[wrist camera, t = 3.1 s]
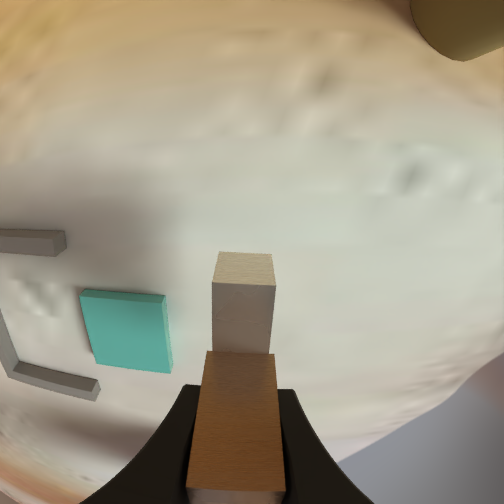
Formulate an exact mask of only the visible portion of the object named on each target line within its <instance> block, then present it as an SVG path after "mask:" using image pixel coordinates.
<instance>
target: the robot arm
mask: <svg viewBox="0 0 504 504" xmlns="http://www.w3.org/2000/svg"><path fill="white" fill-rule="evenodd" d="M200 390H201V386H200V385H189V384H186V385H184V386H183V387H182V389H181V392H180V394H179V395H178V397H177V399H176V401H175V403H174V404H173V406H172V408H171V409H170V411H169V413H168V414H167V416H166V417H165V419H164V420H163V422H162V423H161V424H160V426H159V427H158V429H157V430H156V432H155V433H154V434H153V435H152V437H151V438H150V439H149V440H148V442H147V443H146V444H145V446H144V447H143V448H142V449H141V450H140V451H139V453H138V454H137V455H136V456H135V457H134V458H133V459H132V460H131V461H130V462H129V463H128V464H127V465H126V466H125V467H124V468H123V469H122V470H121V471H120V472H119V473H118V474H117V475H116V476H115V477H114V478H112V479H111V480H110V481H109V482H108V483H107V484H105V485H104V486H103V487H101V488H100V489H99V490H97V491H96V492H95V493H93V494H92V495H91V496H89V497H88V498H86V499H85V500H84V501H82V502H80V503H79V504H190V501H189V497H188V493H187V490H186V482H187V475H188V468H189V461H190V454H191V447H192V441H193V434H194V428H195V421H196V415H197V408H198V402H199V396H200ZM277 391H278V403H279V415H280V426H281V439H282V451H283V463H284V476H285V489H286V492H285V494H284V497H283V500H282V502H281V504H374V503H373V502H372V501H371V500H370V499H369V498H368V497H367V496H366V495H364V494H363V493H362V492H361V491H360V490H359V489H358V488H357V487H356V486H355V485H354V484H353V482H352V481H351V480H350V479H349V478H348V477H347V476H346V475H345V474H344V472H343V471H342V470H341V469H340V468H339V466H338V465H337V464H336V462H335V461H334V460H333V458H332V457H331V456H330V454H329V453H328V451H327V450H326V449H325V447H324V446H323V444H322V443H321V441H320V439H319V438H318V436H317V435H316V433H315V431H314V430H313V428H312V426H311V424H310V423H309V421H308V419H307V417H306V415H305V413H304V411H303V409H302V407H301V405H300V403H299V400H298V398H297V395H296V393H295V391H294V390H293V389H277Z"/></svg>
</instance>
